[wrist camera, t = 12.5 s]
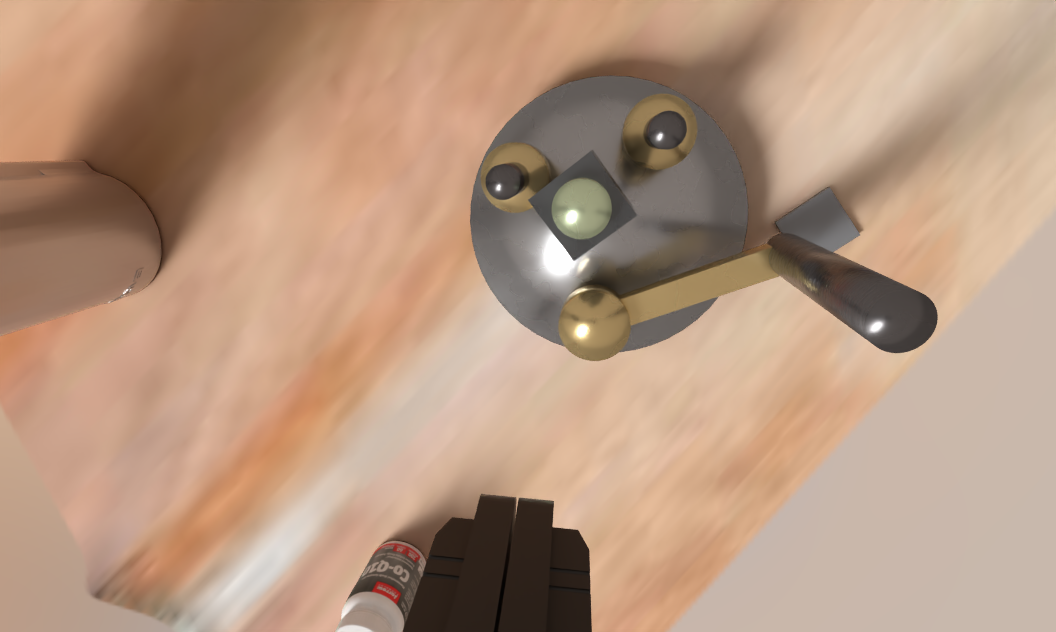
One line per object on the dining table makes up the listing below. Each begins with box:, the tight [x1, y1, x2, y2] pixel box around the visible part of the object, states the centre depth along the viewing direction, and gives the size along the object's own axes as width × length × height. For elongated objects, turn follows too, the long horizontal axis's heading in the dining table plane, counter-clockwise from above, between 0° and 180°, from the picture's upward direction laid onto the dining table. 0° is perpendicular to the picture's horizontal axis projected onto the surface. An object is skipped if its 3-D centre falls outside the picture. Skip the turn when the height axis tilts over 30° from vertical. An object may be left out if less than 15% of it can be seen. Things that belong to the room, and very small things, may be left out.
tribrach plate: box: [470, 76, 748, 352], centre depth 33 cm, size 17×17×9 cm
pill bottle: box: [335, 541, 426, 632], centre depth 43 cm, size 5×5×8 cm
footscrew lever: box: [558, 233, 937, 361], centre depth 29 cm, size 15×4×14 cm, turn 112°
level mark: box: [775, 187, 860, 252], centre depth 35 cm, size 4×4×1 cm
